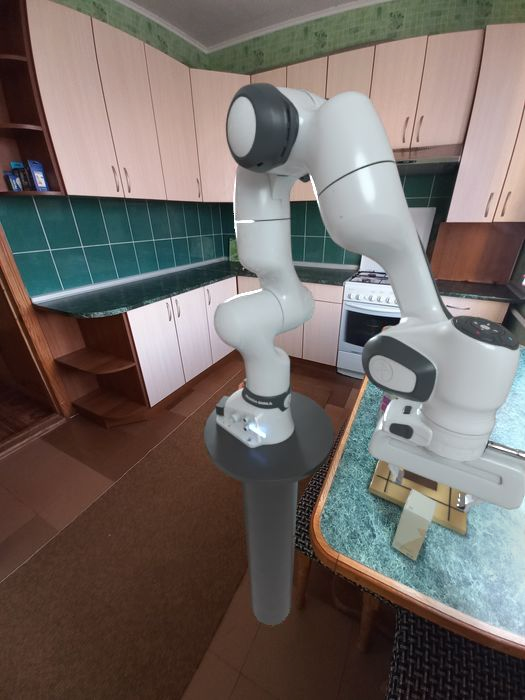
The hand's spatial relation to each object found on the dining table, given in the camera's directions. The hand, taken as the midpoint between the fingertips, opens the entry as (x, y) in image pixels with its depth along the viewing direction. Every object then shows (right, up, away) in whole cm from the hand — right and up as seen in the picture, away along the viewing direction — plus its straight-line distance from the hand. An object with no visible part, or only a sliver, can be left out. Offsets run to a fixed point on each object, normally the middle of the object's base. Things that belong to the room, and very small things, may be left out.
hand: (427, 493), depth 48 cm
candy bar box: (+11, +2, +35) cm, 37 cm away
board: (+9, -6, +20) cm, 22 cm away
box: (0, -13, +7) cm, 15 cm away
